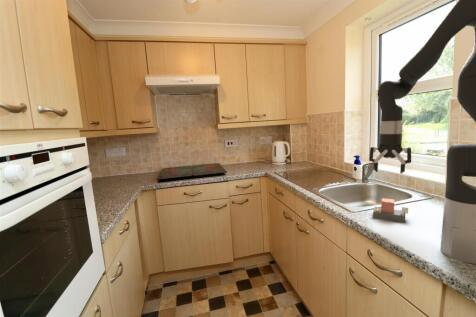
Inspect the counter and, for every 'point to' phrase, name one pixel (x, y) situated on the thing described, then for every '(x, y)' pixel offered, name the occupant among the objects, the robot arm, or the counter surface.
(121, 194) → the counter surface
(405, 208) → the breaker plain
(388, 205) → the pink cube
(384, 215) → the dark grey flat block
